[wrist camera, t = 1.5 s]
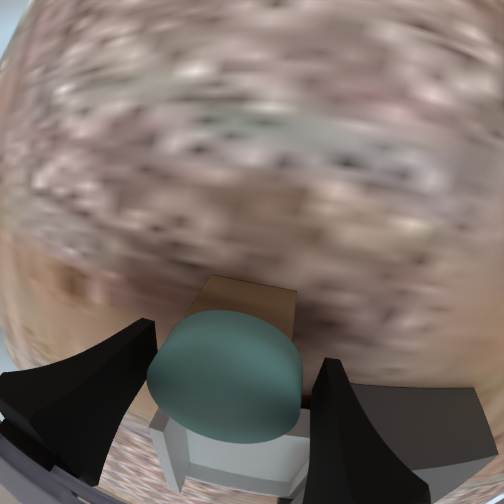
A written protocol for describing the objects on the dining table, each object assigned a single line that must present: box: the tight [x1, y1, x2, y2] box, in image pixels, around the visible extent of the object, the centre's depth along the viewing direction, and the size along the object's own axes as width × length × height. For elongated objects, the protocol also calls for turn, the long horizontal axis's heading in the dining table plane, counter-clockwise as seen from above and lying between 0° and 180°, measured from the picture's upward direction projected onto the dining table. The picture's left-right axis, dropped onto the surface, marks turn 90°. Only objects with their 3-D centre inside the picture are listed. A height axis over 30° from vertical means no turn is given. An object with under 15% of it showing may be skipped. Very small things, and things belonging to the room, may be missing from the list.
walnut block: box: [184, 275, 297, 342], centre depth 13 cm, size 4×4×4 cm
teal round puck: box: [147, 310, 303, 444], centre depth 10 cm, size 6×6×2 cm
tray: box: [149, 407, 310, 499], centre depth 16 cm, size 11×10×4 cm
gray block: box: [277, 384, 499, 504], centre depth 15 cm, size 14×11×6 cm
